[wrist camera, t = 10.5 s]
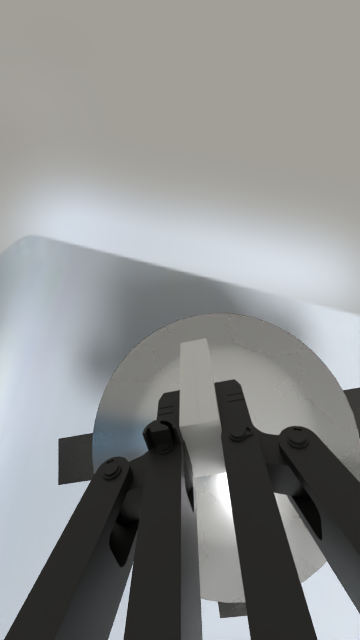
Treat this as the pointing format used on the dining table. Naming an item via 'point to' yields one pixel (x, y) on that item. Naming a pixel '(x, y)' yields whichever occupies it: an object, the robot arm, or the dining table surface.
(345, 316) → the dining table surface
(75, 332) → the dining table surface
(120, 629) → the dining table surface
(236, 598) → the cooker lid
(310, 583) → the dining table surface
